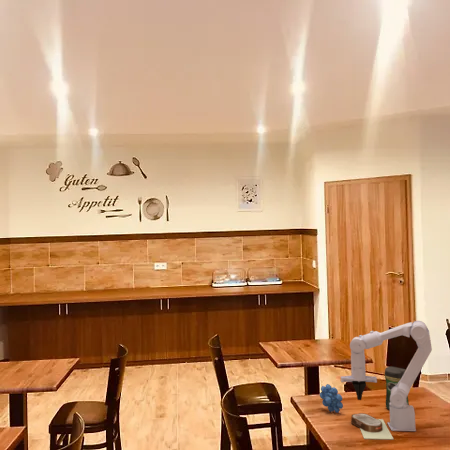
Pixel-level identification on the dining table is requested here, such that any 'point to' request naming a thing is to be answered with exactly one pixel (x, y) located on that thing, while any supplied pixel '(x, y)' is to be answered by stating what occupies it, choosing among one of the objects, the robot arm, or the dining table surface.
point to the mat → (378, 433)
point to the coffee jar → (392, 381)
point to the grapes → (331, 398)
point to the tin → (366, 422)
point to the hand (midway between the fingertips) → (359, 399)
